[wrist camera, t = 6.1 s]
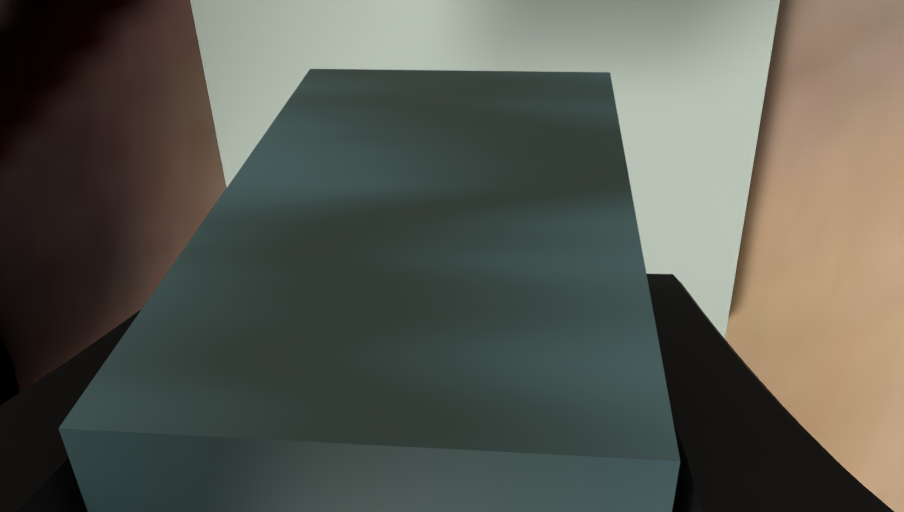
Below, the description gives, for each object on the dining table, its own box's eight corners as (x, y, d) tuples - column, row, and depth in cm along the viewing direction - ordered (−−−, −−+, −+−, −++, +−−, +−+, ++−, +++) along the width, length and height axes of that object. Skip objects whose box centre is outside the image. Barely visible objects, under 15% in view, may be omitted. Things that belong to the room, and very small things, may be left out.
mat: (801, -203, 13) (812, -200, 12) (718, 328, 18) (723, 345, 18) (169, -181, 14) (155, -179, 13) (262, 316, 19) (254, 332, 19)
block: (609, 72, 11) (680, 461, 5) (590, 321, 13) (624, 800, 7) (309, 68, 12) (59, 428, 6) (337, 311, 14) (174, 760, 8)
